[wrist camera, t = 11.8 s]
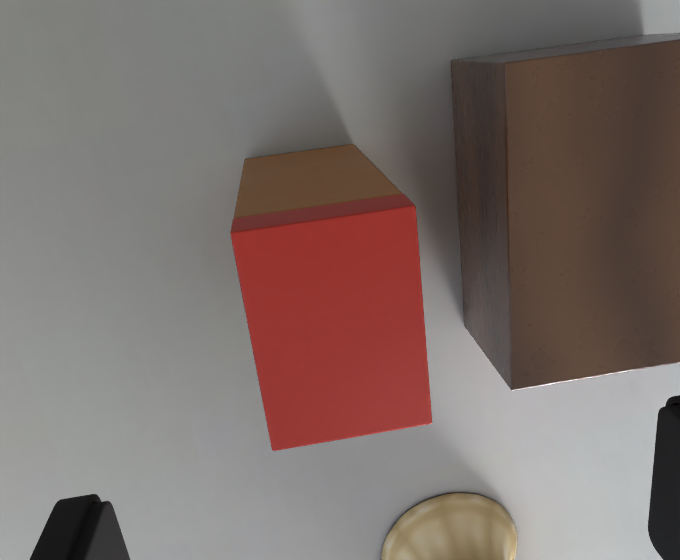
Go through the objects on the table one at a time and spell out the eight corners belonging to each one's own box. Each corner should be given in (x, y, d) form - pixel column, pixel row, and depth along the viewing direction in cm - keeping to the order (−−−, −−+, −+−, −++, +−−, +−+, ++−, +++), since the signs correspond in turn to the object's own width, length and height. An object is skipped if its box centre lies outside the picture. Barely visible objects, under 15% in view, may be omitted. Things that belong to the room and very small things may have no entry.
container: (300, 280, 32) (115, 411, 22) (279, 146, 29) (60, 224, 19) (510, 299, 27) (395, 482, 17) (506, 137, 24) (368, 238, 14)
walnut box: (463, 326, 31) (511, 391, 25) (450, 60, 27) (504, 62, 21) (630, 299, 32) (716, 357, 26) (645, 34, 27) (754, 29, 21)
